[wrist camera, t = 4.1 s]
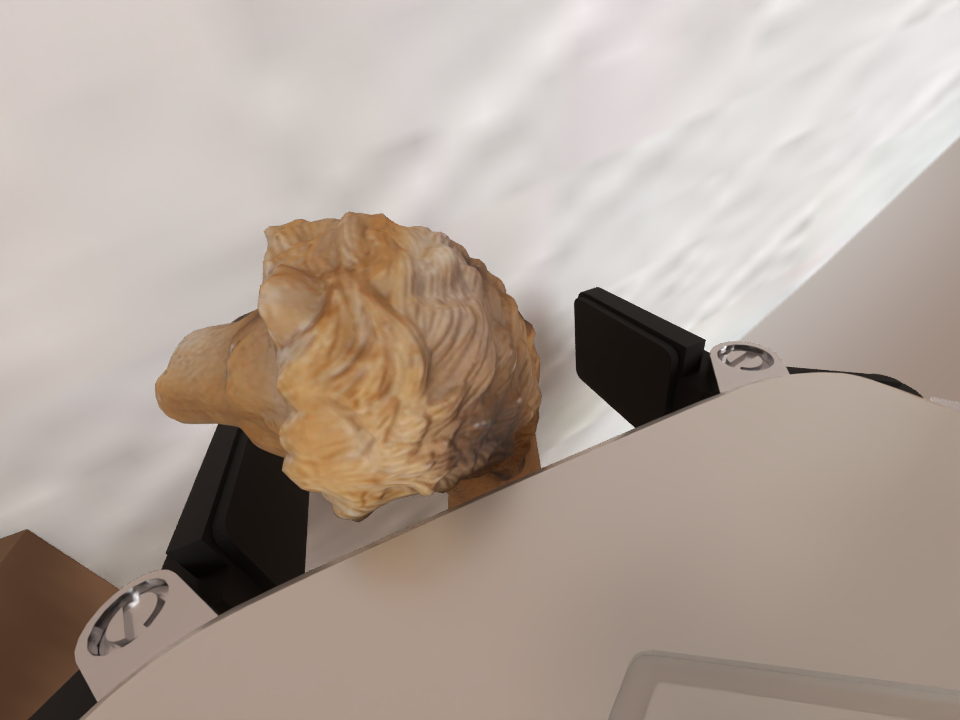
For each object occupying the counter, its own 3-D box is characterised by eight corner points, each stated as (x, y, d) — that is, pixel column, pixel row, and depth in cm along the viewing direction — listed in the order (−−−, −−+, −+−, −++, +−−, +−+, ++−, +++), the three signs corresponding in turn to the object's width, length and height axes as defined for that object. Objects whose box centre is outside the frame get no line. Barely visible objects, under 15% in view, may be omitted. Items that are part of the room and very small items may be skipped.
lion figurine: (211, 240, 9) (-151, 530, 2) (382, 135, 10) (565, 87, 2) (461, 499, 18) (556, 732, 11) (548, 440, 18) (698, 627, 11)
